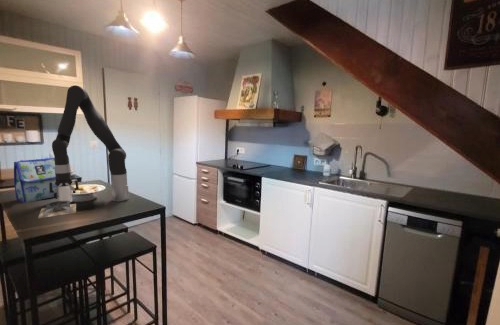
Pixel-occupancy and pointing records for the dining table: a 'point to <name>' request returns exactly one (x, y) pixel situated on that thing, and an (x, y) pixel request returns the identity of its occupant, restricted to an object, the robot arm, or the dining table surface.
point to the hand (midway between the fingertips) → (65, 197)
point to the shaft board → (57, 211)
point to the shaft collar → (57, 207)
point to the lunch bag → (34, 179)
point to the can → (65, 193)
